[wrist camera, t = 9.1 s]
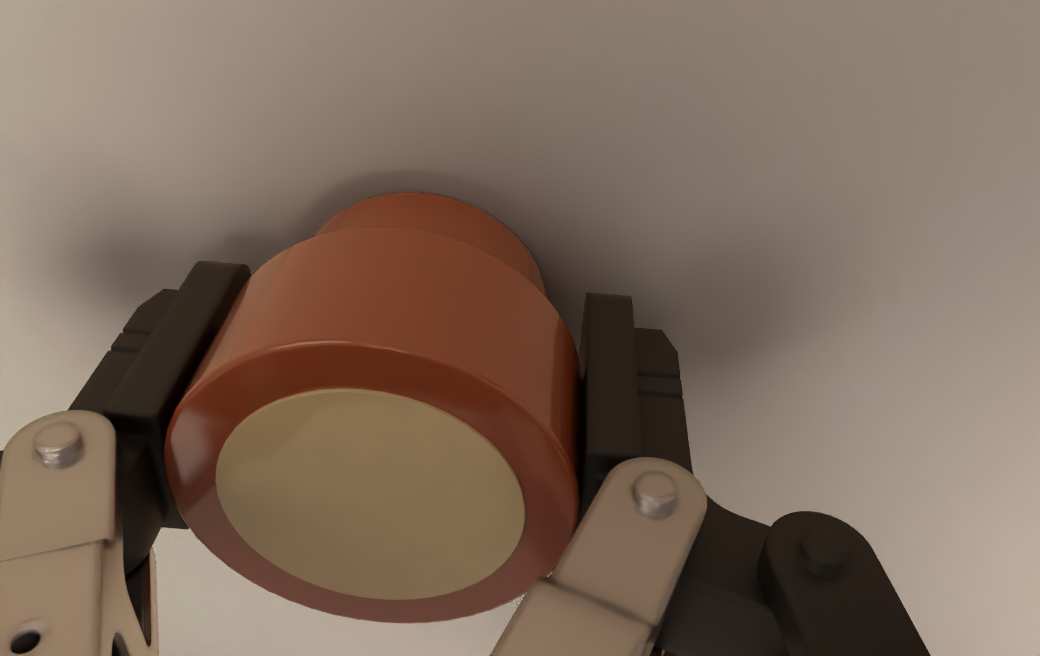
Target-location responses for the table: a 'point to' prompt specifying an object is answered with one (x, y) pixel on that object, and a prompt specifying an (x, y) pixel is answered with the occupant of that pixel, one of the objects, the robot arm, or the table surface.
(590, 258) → the table surface
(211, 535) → the terracotta bowl
